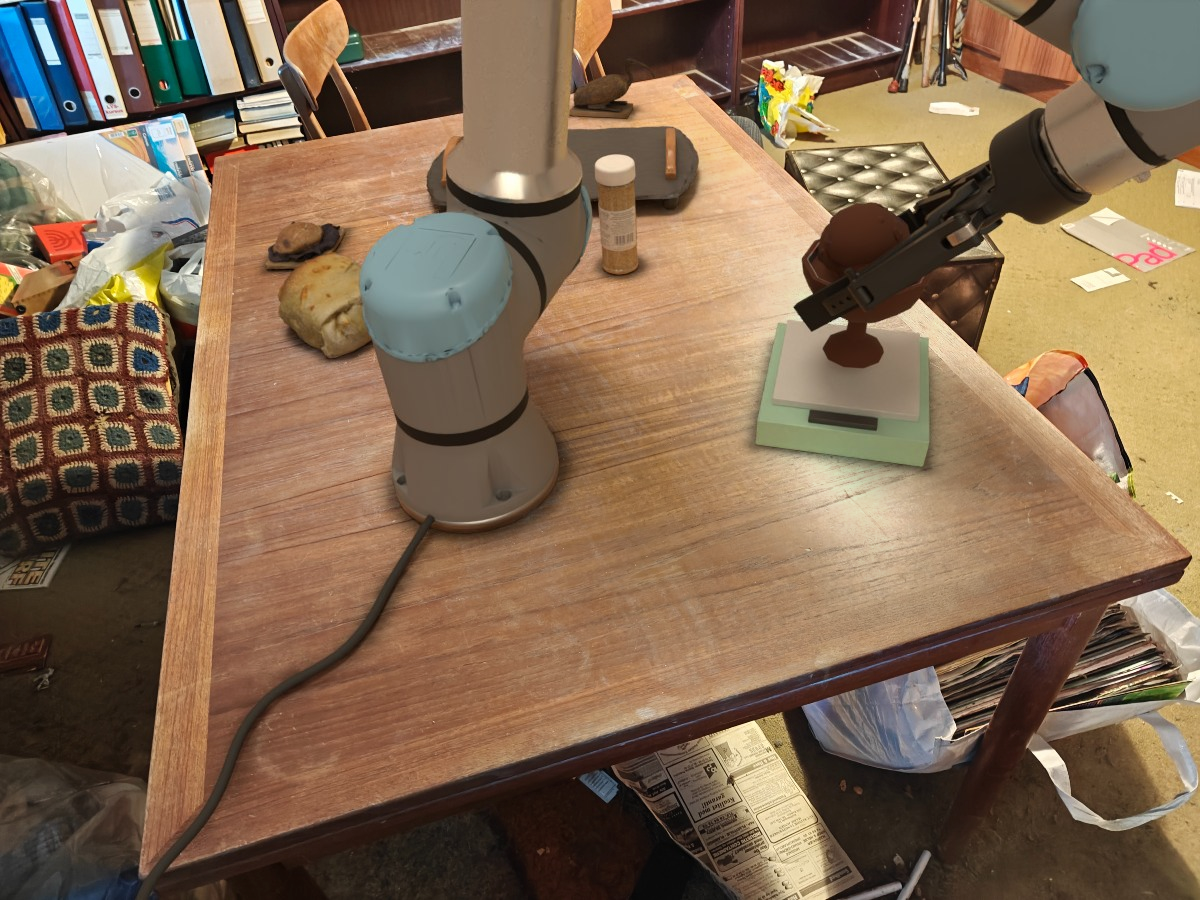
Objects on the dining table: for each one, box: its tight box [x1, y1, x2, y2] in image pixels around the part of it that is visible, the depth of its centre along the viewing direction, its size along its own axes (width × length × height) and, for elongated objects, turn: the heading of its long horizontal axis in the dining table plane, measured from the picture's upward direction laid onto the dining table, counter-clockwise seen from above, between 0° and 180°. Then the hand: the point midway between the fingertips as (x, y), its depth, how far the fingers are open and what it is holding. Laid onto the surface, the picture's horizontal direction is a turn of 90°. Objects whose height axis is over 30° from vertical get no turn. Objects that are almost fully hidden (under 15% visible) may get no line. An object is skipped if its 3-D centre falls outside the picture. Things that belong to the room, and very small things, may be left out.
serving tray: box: [426, 125, 700, 213], centre depth 121 cm, size 39×23×6 cm, turn 87°
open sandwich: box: [264, 221, 346, 270], centre depth 112 cm, size 11×8×4 cm
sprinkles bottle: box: [595, 155, 639, 275], centre depth 101 cm, size 5×5×13 cm
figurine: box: [569, 57, 655, 119], centre depth 138 cm, size 14×4×9 cm, turn 74°
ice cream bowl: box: [801, 201, 934, 368], centre depth 75 cm, size 11×11×15 cm
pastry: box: [277, 251, 372, 359], centre depth 97 cm, size 14×12×8 cm
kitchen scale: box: [754, 319, 931, 468], centre depth 83 cm, size 16×15×4 cm
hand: (832, 285), depth 77 cm, fingers closed on ice cream bowl, 11 cm apart
